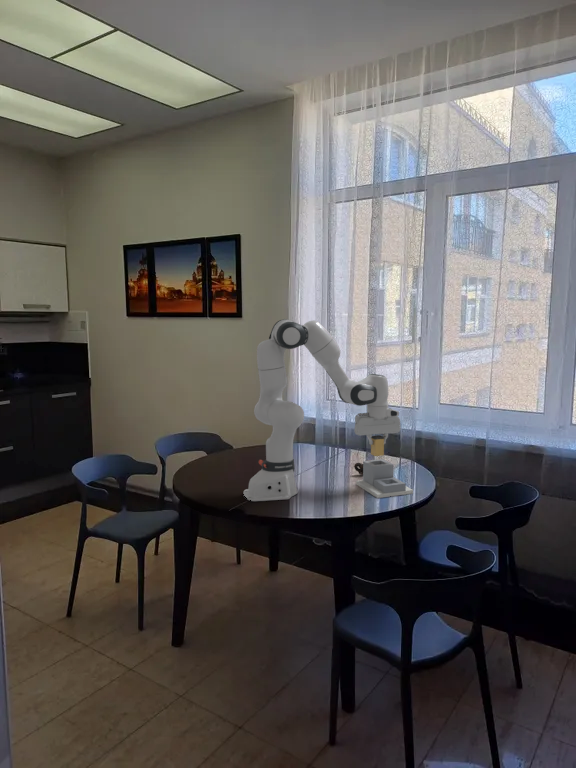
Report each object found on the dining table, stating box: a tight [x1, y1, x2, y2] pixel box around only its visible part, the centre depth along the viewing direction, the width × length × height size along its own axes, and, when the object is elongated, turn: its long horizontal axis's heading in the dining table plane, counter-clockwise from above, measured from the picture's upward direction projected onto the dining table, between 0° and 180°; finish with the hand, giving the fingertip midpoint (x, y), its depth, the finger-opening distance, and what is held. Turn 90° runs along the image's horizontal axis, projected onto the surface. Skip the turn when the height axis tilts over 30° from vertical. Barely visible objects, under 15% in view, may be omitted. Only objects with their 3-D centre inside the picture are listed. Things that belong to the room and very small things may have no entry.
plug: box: [370, 434, 385, 457], centre depth 225 cm, size 4×4×8 cm
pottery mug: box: [353, 459, 370, 475], centre depth 241 cm, size 12×9×8 cm
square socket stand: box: [355, 458, 414, 499], centre depth 221 cm, size 16×20×10 cm
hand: (377, 444), depth 224 cm, fingers closed on plug, 4 cm apart
